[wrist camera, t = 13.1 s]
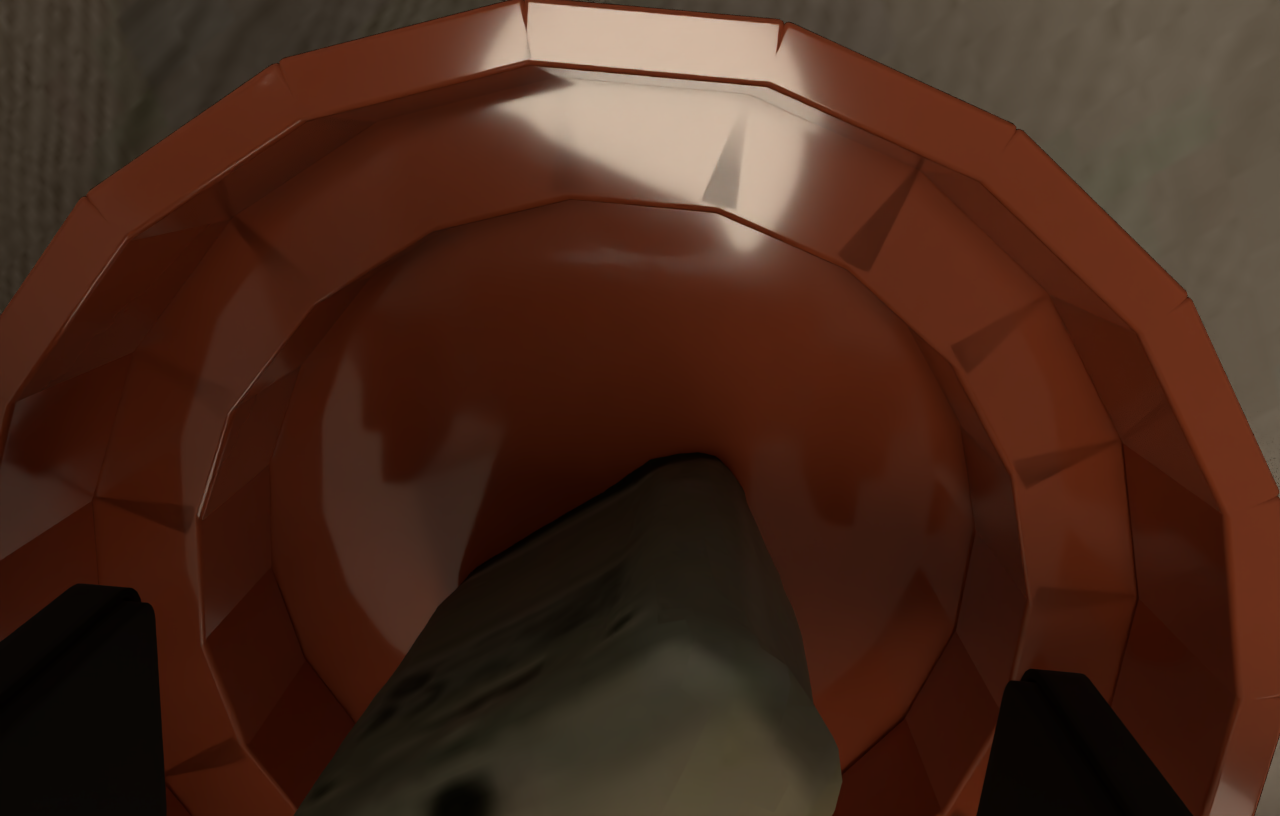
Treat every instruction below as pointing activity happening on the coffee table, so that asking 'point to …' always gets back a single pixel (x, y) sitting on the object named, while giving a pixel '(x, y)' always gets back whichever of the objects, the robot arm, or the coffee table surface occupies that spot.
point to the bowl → (636, 393)
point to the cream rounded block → (603, 674)
